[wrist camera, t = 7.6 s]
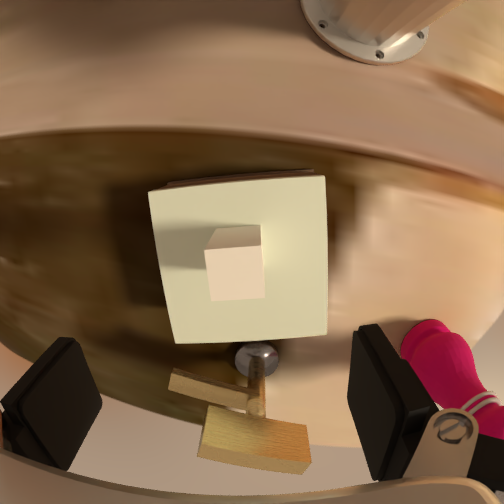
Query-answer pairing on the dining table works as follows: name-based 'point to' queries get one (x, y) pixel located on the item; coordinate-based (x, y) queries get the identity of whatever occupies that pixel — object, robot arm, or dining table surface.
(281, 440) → the key
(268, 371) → the silver metal disc
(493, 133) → the dining table surface
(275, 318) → the cover
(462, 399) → the pepper mill
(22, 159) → the dining table surface
